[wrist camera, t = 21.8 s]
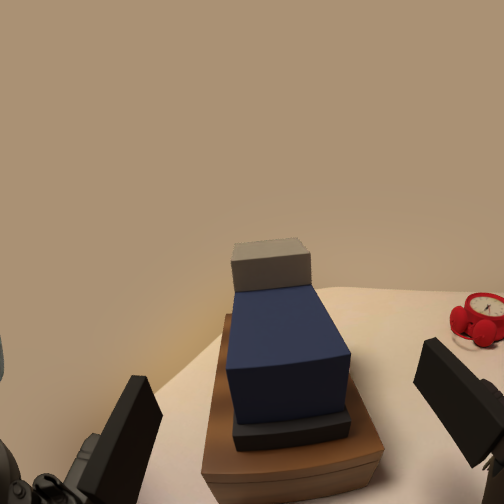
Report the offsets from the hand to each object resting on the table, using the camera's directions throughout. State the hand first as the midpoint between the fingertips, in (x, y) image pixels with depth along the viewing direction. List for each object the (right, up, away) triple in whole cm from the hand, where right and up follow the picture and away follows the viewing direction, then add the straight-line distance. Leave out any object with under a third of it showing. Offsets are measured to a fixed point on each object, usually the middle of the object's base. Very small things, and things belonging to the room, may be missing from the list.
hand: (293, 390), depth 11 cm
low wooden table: (+1, -11, +15) cm, 18 cm away
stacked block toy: (+1, -4, +13) cm, 14 cm away
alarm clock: (+34, -6, +19) cm, 40 cm away
